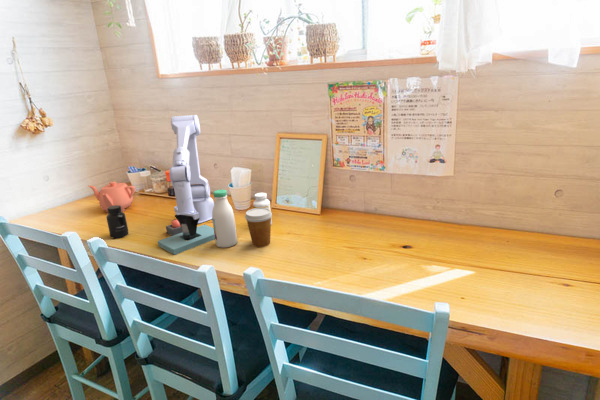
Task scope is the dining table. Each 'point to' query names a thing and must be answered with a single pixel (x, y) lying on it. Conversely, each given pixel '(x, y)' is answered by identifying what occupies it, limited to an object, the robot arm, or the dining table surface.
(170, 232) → the button housing
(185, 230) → the cylinder
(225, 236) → the milk bottle
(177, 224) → the button
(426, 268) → the dining table surface
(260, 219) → the disposable coffee cup
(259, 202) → the supplement bottle
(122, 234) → the supplement bottle
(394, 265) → the dining table surface
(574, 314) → the dining table surface
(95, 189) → the teapot
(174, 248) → the plate
